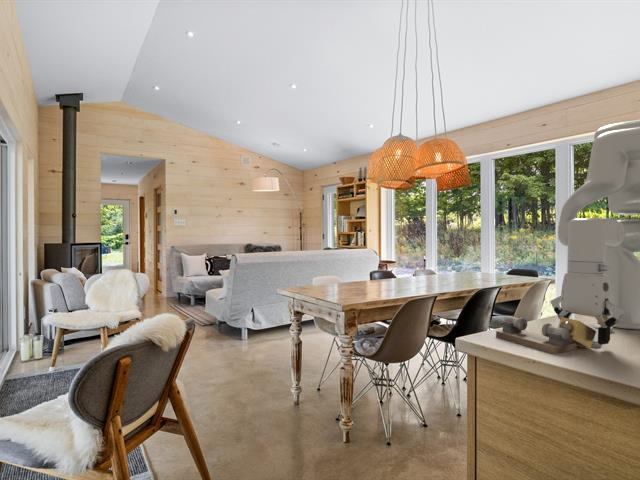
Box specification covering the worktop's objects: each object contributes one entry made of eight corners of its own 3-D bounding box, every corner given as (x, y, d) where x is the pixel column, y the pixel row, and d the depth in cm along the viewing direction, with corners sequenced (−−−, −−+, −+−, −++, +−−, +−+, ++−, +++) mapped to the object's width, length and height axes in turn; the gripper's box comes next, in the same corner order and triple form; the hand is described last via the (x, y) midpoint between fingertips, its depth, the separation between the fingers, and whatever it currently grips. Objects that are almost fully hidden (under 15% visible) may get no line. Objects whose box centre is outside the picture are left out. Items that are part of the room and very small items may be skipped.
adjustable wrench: (599, 350, 96) (599, 343, 96) (568, 345, 100) (568, 338, 100) (614, 331, 114) (614, 325, 114) (587, 328, 119) (587, 321, 119)
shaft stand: (517, 333, 109) (517, 313, 109) (576, 349, 95) (576, 325, 95) (496, 336, 106) (496, 315, 106) (553, 353, 91) (554, 329, 91)
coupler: (578, 327, 100) (559, 315, 98) (596, 331, 96) (577, 319, 94) (572, 343, 100) (553, 332, 97) (590, 348, 95) (570, 337, 93)
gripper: (634, 271, 92) (632, 346, 93) (561, 265, 108) (559, 329, 108) (614, 272, 89) (612, 350, 89) (542, 266, 105) (541, 332, 105)
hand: (583, 338), depth 99 cm, fingers open, 8 cm apart
